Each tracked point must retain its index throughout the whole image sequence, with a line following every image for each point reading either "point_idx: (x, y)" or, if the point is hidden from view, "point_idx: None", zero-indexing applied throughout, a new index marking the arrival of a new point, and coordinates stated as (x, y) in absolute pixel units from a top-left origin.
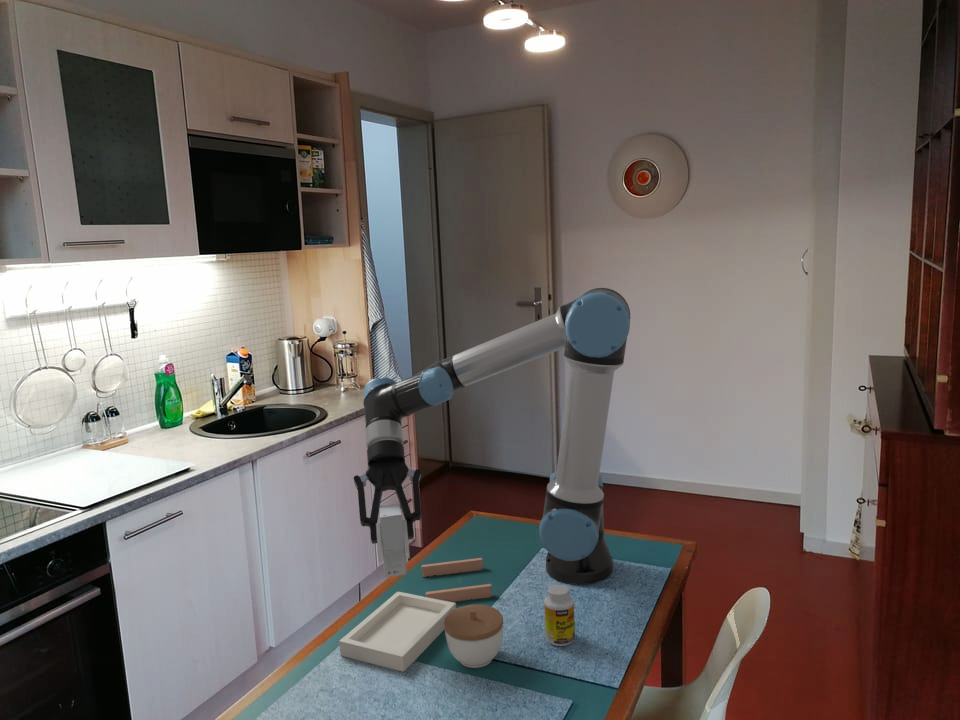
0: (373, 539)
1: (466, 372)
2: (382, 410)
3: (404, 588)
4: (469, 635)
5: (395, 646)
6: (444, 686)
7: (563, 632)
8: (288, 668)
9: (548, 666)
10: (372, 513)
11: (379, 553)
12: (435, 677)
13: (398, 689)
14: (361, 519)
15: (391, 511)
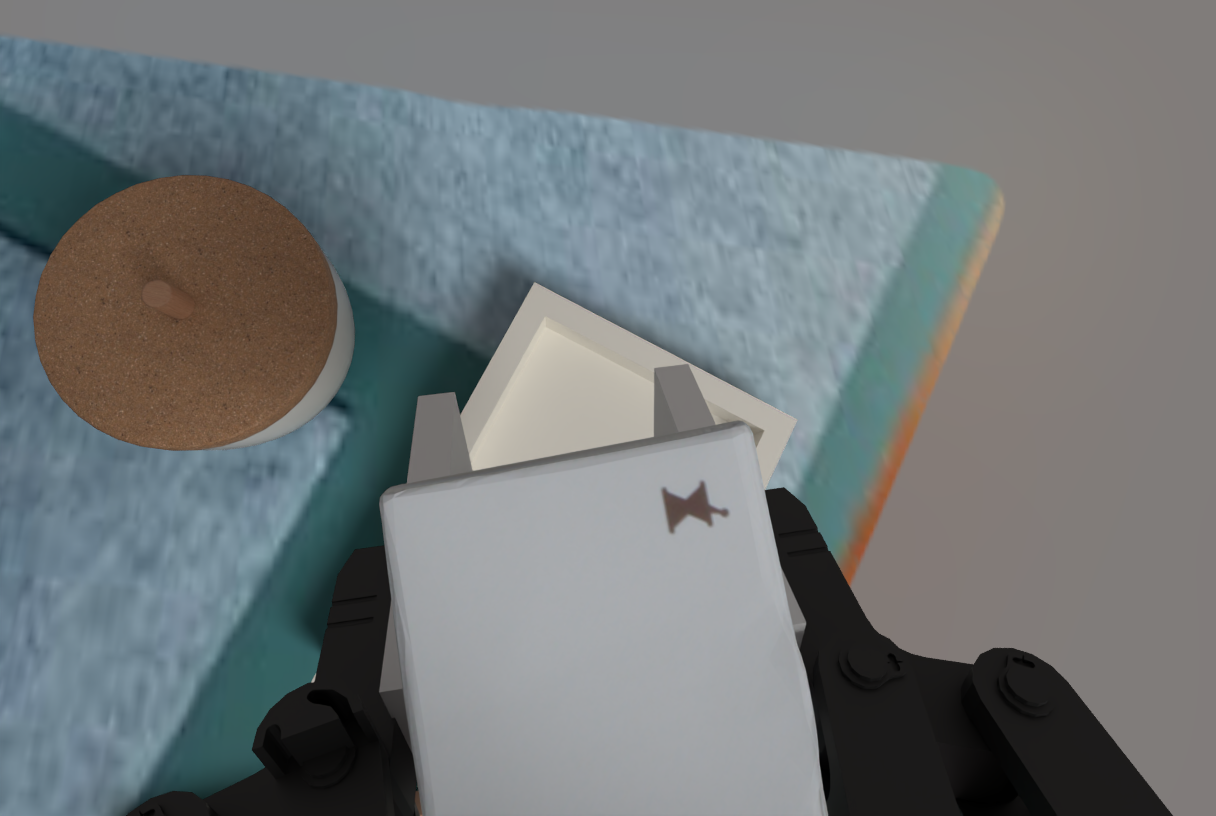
0: (773, 500)
1: None
2: None
3: None
4: (214, 178)
5: (576, 428)
6: (392, 206)
7: None
8: (937, 371)
9: (2, 268)
10: (923, 786)
11: (681, 377)
12: (423, 258)
13: (546, 211)
14: (1038, 666)
15: (588, 682)
